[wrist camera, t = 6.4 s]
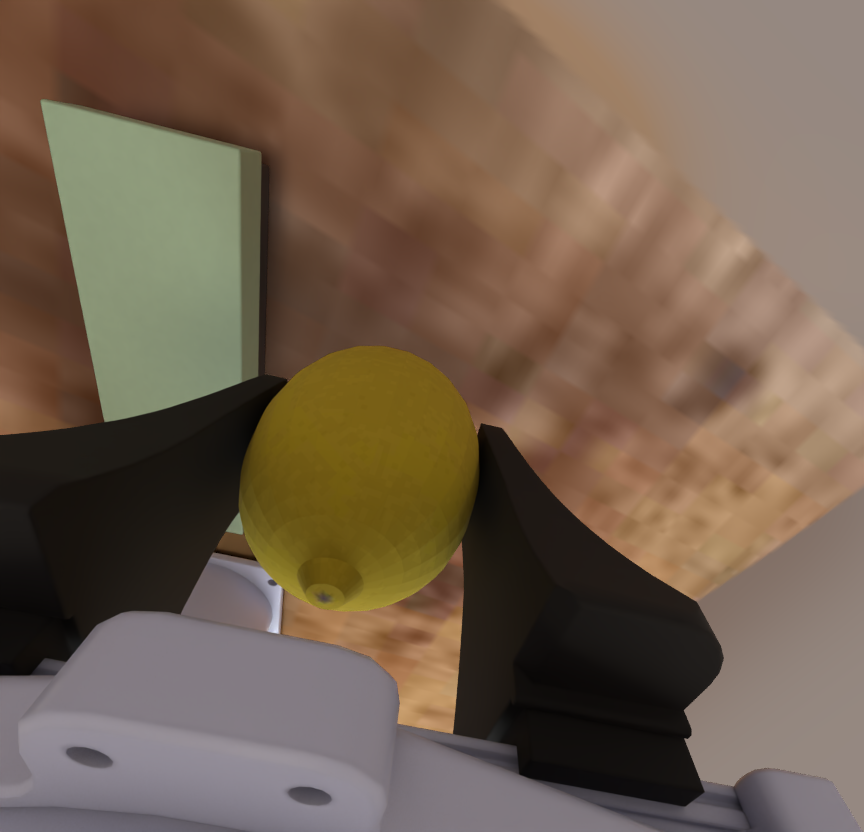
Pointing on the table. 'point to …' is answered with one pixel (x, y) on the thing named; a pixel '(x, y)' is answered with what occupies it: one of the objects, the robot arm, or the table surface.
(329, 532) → the lemon
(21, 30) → the table surface
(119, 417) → the green block
